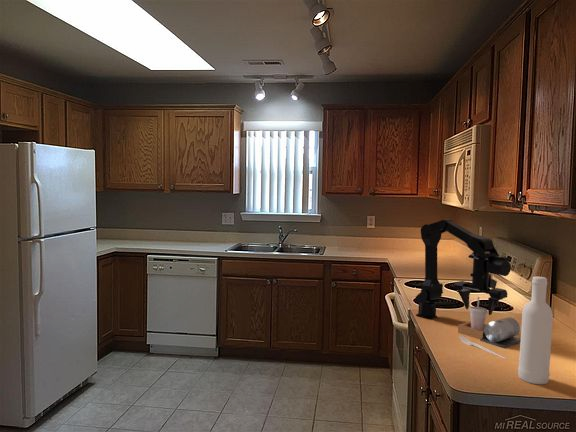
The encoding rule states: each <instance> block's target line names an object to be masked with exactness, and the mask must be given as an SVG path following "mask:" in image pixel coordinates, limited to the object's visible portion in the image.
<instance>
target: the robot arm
mask: <svg viewBox="0 0 576 432" xmlns="http://www.w3.org/2000/svg"><path fill="white" fill-rule="evenodd" d="M447 232H448V234H451V235H452V236H454V237H455V238H457V239H459V240H460V241H461V242H464V243H465V245H467V247H468V249H469V250H470V251H472V253H470V254H469V255H468V258H469V259H473V261H472V272H471V273H470V277H471V278H472V279H471V282H470V281H464V280H460V281H455V282H454V284H453V290H456V293H458V295H459V296H460V298H461V300H462V303H463V305H464V308H465V309H466V310H468V309H470V295H471V292H472V291H473V292H479V293H482V294H483V293H484V294H487V295H488V296H489V297H488V300H487V301H488V309H487V313H488V315H489V316H491V315H492V314H493V312H494V309H496V305H497V304H498V302H499V301H500V300H503V299H507V298H508V291H507V289H503V288H498V287H497V284H498V283H497V282H498V280H495V279H493V278H492V276H491V275H492V274H493V275H497V276H503V277H508V275H510V273H511V269H512V266H511V263H510V261H509V260H508V259H509V258H508V256H500V255H499V253H498V251H497V249H496V247H495V246H494V241H493V240H492V239H491V238H489V237H486V236H483V235H479V234H475V233H474V232H471V231H469V229H466V228H465V227H463V226H461V225H459V224H458V223H456V222H454V221H453V220H452V219H449V218H448V219H445V218H444V219H441V220H439V221H436V222H433V223H432V222H431V223H426V224H423V225H422V226H421V227H420V238H421V240H422V242H423V244H424V273H425V274H424V275H425V276H424V280H423V282H422V284H421V288H420V292H419V293H417V295H416V296H415V302H416V303H417V304H418V312H417V313H416V314H415V316H417V317H420V318H423V319H427V320H430V319H434V318H437V317H438V315H437V307H436V304H437V303H439V301H440V299H441V297H442V296H443V294H444V290H443V288H444V285H443V283H440V282H439V281H440V280H439V279H438V245H439V243H440V242H441V239H442V234H444V233H447Z"/></svg>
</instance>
